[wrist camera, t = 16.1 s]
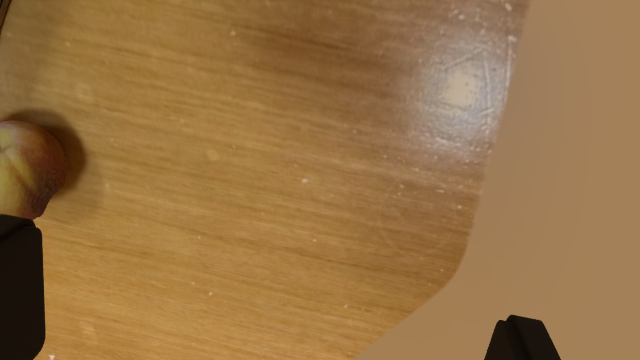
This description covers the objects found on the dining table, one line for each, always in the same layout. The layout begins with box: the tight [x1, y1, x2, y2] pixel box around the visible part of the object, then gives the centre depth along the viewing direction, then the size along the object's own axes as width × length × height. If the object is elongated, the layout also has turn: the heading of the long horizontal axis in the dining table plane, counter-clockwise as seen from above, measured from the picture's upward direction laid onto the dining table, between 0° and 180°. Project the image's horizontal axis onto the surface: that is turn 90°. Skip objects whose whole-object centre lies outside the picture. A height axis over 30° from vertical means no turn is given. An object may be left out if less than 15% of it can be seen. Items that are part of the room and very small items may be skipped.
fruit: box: [0, 120, 69, 220], centre depth 38 cm, size 8×8×8 cm
